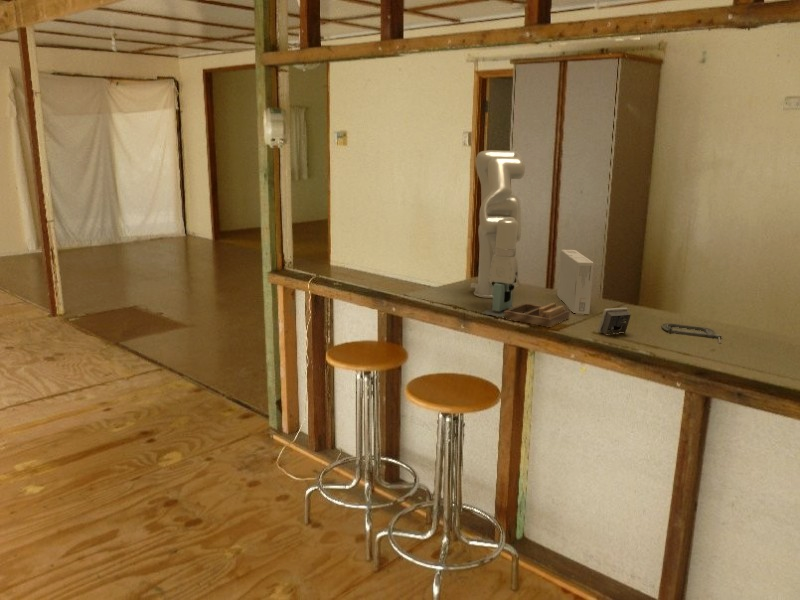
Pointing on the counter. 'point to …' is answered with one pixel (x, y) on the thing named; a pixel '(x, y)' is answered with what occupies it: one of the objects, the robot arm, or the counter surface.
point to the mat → (496, 312)
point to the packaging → (575, 281)
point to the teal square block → (500, 297)
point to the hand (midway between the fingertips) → (502, 300)
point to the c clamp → (708, 332)
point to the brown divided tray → (533, 315)
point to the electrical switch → (614, 320)
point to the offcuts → (550, 310)
